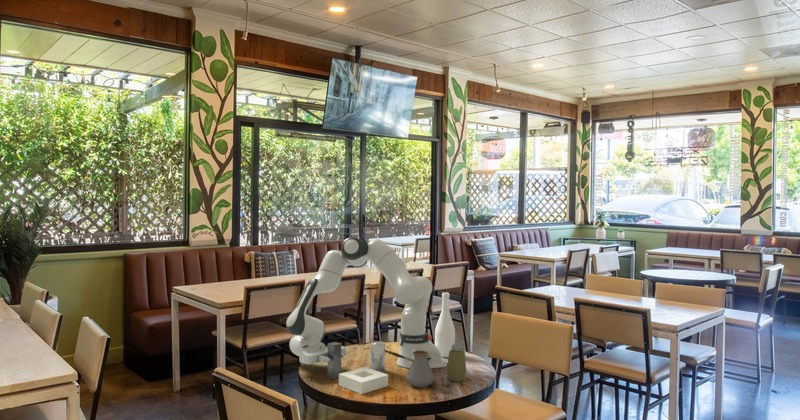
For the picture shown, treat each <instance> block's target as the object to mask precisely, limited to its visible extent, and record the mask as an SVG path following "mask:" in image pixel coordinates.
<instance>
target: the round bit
mask: <svg viewBox="0 0 800 420" xmlns="http://www.w3.org/2000/svg"><path fill="white" fill-rule="evenodd" d="M369 345H370V346H369V368H370V369H373V370H376V371H379V372H382V373H385V372H386V354H385V350H386V342H384V341H381V340H379V341H371V342H370V343H369ZM383 352H384V355H383Z"/></svg>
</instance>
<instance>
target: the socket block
mask: <svg viewBox="0 0 800 420" xmlns="http://www.w3.org/2000/svg"><path fill="white" fill-rule="evenodd" d="M338 386H340V387H342V388H345V389H348V390H350V391H353V392H355V393H358V394H360V395H363V394H366V393H369V392H374V391H377V390H379V389H383V388H387V387H388V386H389V374H387V373H385V372H383V373H382V372H379V371H376V370H373V369H370V367H367V366H363V367H359V368H355V369H352V370H348V371H345V372H341V373H340V374H339V378H338Z"/></svg>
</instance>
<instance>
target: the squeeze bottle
mask: <svg viewBox="0 0 800 420" xmlns="http://www.w3.org/2000/svg"><path fill="white" fill-rule="evenodd" d="M451 349H452V350H450V351H449V357H447V358H448V361H447V366H446V372H447V376H448V379H449V380H450V381H451V382H456V383H459V382H463V381H464V379H465V377H466V374H467V362H466V352H465V350H463V349H464V346H463V344H461V342H460V338H459V336H455V343H454V345H452V348H451Z"/></svg>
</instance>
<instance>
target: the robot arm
mask: <svg viewBox="0 0 800 420" xmlns="http://www.w3.org/2000/svg"><path fill="white" fill-rule="evenodd" d="M340 249H341V250H336V249H335V250H334V249H332V250H329V251H327V252H326V254H325V255H324V257H323V260H322V262H321V264H320V266H319V268H318V271H317V273H316V275H315V276H314V277H313V278H311V279H309V280H308V282H307V283H306V285H305V286H304V288H303V290H302V292H301V294H300V296H299V298H298V300H297V302H296V304H295V306H294V307H293V309H292V311H291V312H290V313H289V315H288V317H287V318H286V321H285V326H286V329H287V332H288V334H290V335H294V336H293V337H292V338H291V339H290V341H289V345H288V346H289V349H290V351H291V352H292V353H293V354H294V355H296V356H298V358H299V363H301V364H305V365H314V364H316V363H321V362H326V363H328V362H330V359H331V358H330V357H328V345H327V346H326V344H325V343H324V342H322V340H323V338H324V336H325V331H326V328H325V327H326V325H325V323H324V321H323V320H321V319H319V318H316V317H313V316H311V315H308V314H307V310H308V309H309V307H310V305H311V303H312V301H313V299H314V297H315V296H316V295H319V294H323V293H326V294H327V293H331V292H333V291H335V290H336V289H338V287H339V286H340V284H341V281H342V278H343V274H344V272H345V269H346V268H348V269H350V268H351V269H352V268H353V269H354V268H355V269H356V268H357V269H358V268H362V267H364V266H365V265H366V264H367V263H368V262H371V263H372V264H373V265H374V266H375V268H377V270H378V271H379V272H380V273H381V274H382V275H383V276H384V278H385V279H386V280H387V282H388V283H389V284H390V286H391V288H392V290H393V297H394V299H395V301H396V302H397V303H399V304H400V305H404V308H403V310H402V312H401V314H400V315H401V316H400V332H399V343H398V344H399V352H398V354H400V355H402V356H404V357H407V358H410V359H414V355H413V352H414V351H426V352H428V353H429V354H428V355H427V360H428V362H429V365H430V367H431V369H441V368H447V367H448V361H446V359H444V357H442V356H441V352H440V350H439V348H437V347H436V346H435V343H433V342H432V341H431V340H432V339H433V336H432V335H431V334H429V333H428V332H426V318H427V310H428V305H429V300H430V296H431V295H432V292H433V283H432V281H431V280H430V279H429V278H427V276H420V275H419V276H414V277H413V276H412V275H411V274H410V272H409V271H408V269H407V265H406V263H405V261H404V260H403V259H402V257H400V256H399V255H398V254H397V252H395V251H394V250H393V249H392V248H391V246H389V245H388V244H387V243H386V242H385V241H382V240H381V239H379V238H375V239H372V240H371V241H369V242H368V241H366V240H364V239H361V238H359V237H356V236H355V237H354V236H350V237H347V238H346V239H344V240H343V242H342V244H341V247H340ZM346 356H347V347H346V346H343V345H341V360H343V359H344V358H345V357H346ZM411 364H412V361H409V360H407V359H403V358H400V357H397V361H396V365H397V366H399V367H402V368H406V369H409V368H410V366H411Z"/></svg>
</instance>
